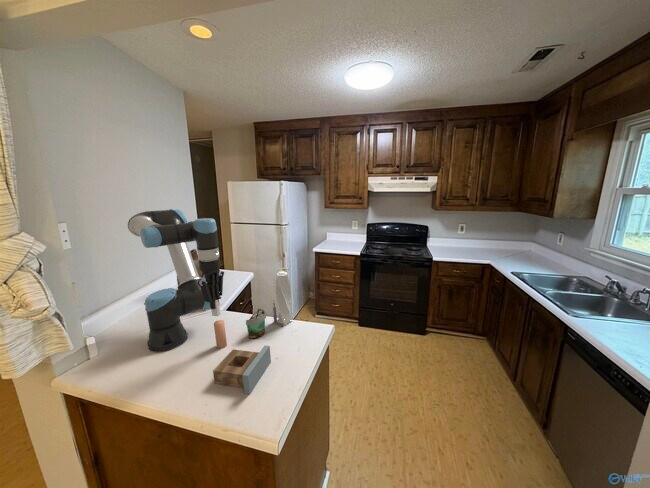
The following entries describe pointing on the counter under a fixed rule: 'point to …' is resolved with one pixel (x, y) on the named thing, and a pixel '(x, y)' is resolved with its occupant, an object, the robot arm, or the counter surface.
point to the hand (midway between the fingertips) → (216, 315)
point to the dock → (256, 369)
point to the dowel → (220, 334)
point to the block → (233, 368)
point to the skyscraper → (282, 298)
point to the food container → (256, 324)
